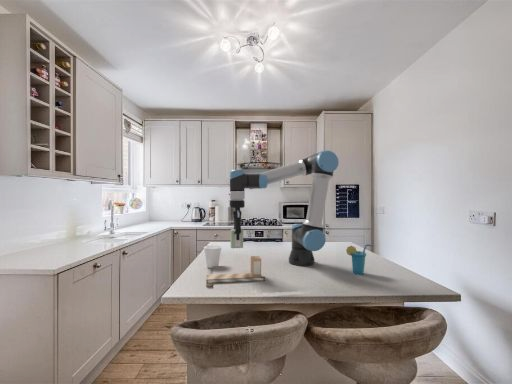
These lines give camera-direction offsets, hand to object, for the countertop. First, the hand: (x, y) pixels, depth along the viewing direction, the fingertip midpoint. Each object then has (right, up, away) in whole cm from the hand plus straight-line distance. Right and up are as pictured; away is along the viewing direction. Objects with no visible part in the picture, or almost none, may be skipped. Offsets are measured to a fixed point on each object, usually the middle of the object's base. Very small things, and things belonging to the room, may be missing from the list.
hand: (237, 245), depth 135 cm
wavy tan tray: (0, -14, -12) cm, 19 cm away
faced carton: (+10, -13, -10) cm, 19 cm away
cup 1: (-14, -14, +10) cm, 22 cm away
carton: (0, -1, 0) cm, 1 cm away
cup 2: (+63, -15, +1) cm, 65 cm away
